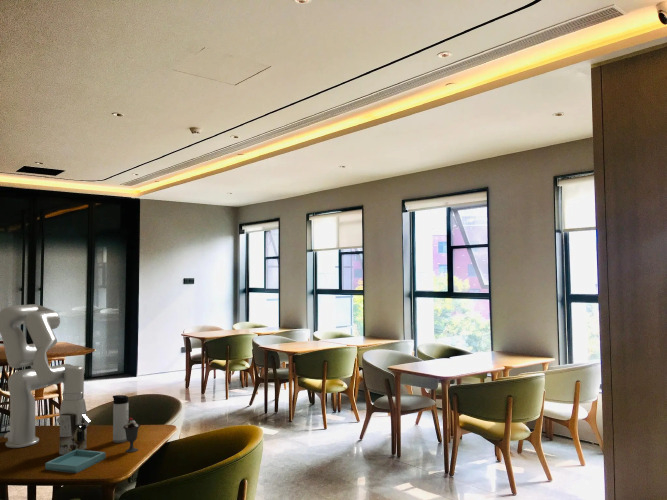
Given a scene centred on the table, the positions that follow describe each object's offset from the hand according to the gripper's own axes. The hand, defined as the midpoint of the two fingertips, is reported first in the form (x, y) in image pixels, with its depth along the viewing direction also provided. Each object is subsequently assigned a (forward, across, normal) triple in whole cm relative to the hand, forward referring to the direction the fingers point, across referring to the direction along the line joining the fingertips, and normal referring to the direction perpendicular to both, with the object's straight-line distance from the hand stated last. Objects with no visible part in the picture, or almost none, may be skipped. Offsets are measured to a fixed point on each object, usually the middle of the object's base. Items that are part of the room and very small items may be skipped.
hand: (73, 439), depth 226 cm
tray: (+5, +12, -12) cm, 18 cm away
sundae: (+5, +23, +7) cm, 25 cm away
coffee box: (+5, 0, 0) cm, 5 cm away
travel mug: (+5, +10, +17) cm, 20 cm away
